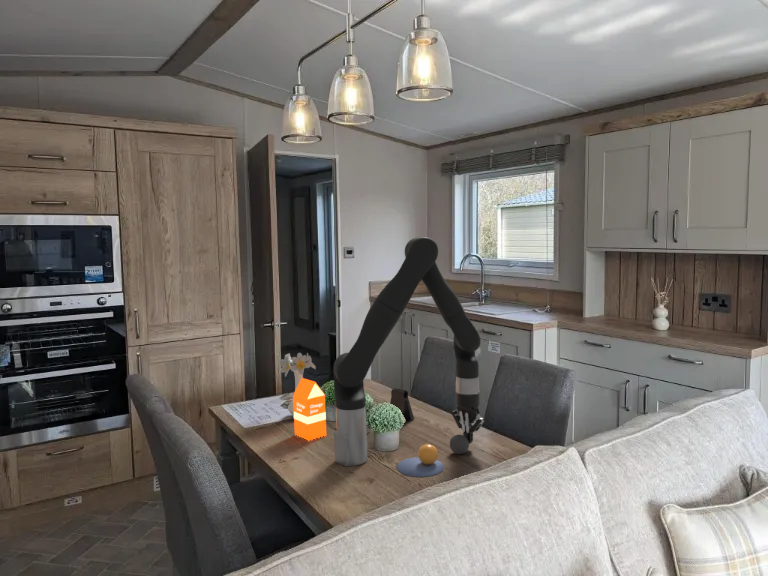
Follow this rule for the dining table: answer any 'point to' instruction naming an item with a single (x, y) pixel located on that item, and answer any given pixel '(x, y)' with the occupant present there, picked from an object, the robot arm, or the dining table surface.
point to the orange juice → (309, 410)
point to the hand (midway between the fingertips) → (468, 442)
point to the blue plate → (419, 467)
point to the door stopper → (402, 403)
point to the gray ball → (459, 444)
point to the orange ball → (428, 454)
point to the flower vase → (295, 370)
